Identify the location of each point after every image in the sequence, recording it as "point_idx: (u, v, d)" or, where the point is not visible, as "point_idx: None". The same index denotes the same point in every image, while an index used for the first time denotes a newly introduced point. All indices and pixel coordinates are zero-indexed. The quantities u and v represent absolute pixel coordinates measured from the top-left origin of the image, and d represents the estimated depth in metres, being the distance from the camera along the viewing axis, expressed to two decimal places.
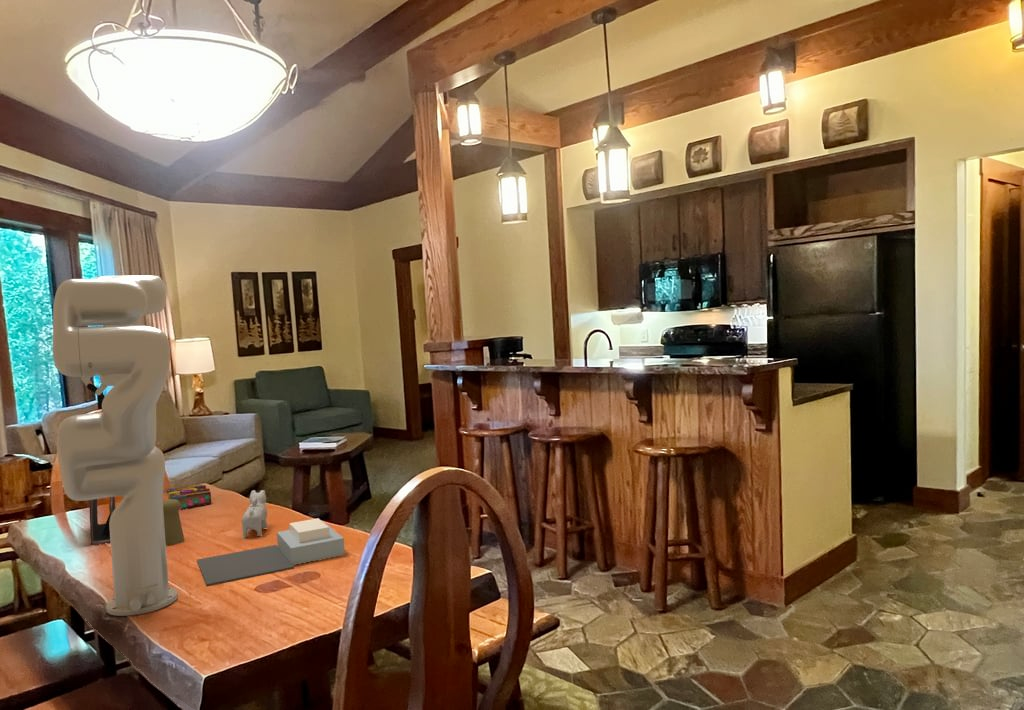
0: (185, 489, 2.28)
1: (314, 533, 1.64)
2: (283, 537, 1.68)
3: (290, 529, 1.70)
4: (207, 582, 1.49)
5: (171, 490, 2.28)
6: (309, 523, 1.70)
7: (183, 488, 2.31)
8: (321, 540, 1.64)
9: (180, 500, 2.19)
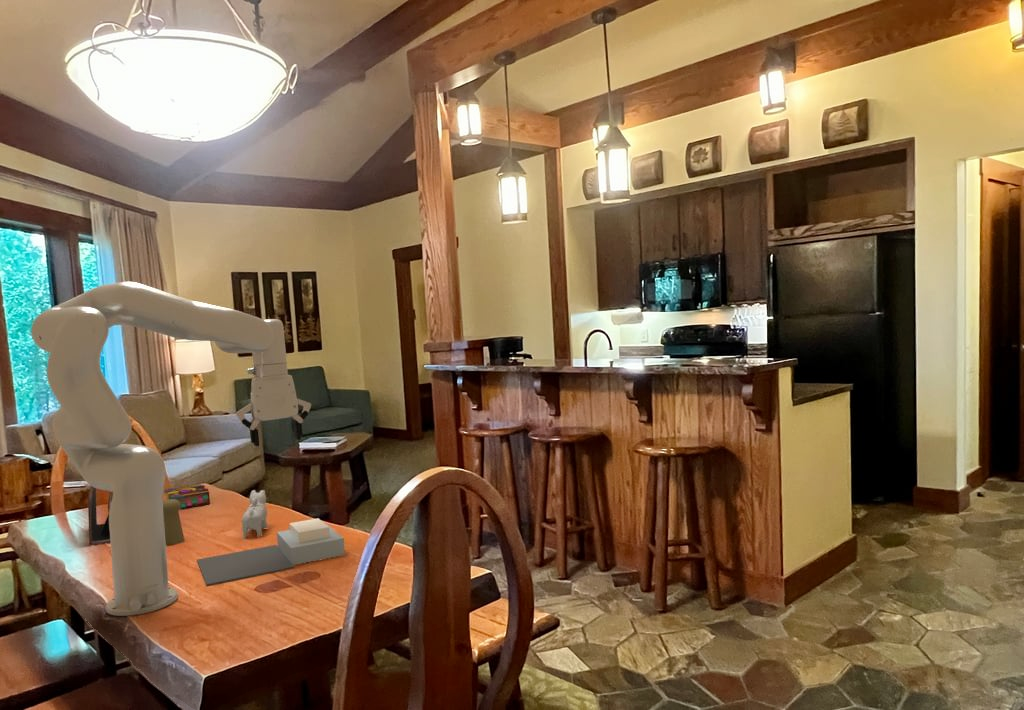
0: (184, 489, 2.28)
1: (314, 533, 1.64)
2: (283, 537, 1.68)
3: (290, 529, 1.70)
4: (207, 582, 1.49)
5: (170, 490, 2.28)
6: (309, 523, 1.70)
7: (182, 488, 2.31)
8: (321, 540, 1.64)
9: (179, 500, 2.19)
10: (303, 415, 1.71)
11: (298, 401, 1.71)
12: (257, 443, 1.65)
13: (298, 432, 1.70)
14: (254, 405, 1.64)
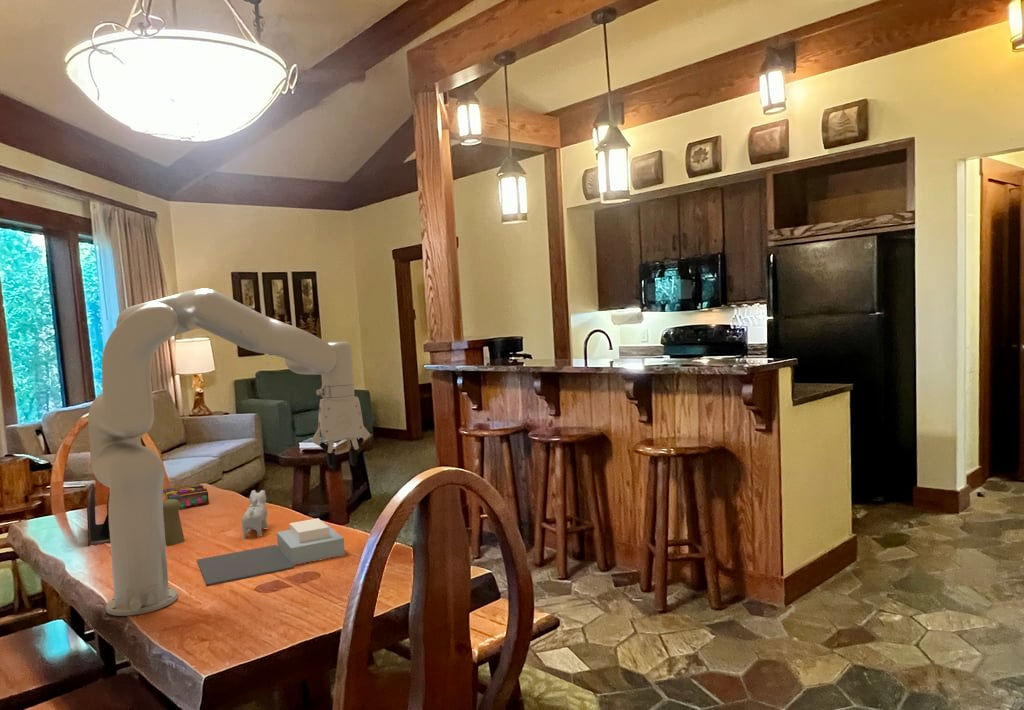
0: (182, 489, 2.28)
1: (314, 533, 1.64)
2: (283, 537, 1.68)
3: (290, 529, 1.70)
4: (207, 582, 1.49)
5: (168, 490, 2.28)
6: (309, 523, 1.70)
7: (180, 488, 2.31)
8: (321, 540, 1.64)
9: None
10: (359, 442, 1.74)
11: None
12: (334, 466, 1.70)
13: (354, 459, 1.72)
14: (322, 425, 1.68)
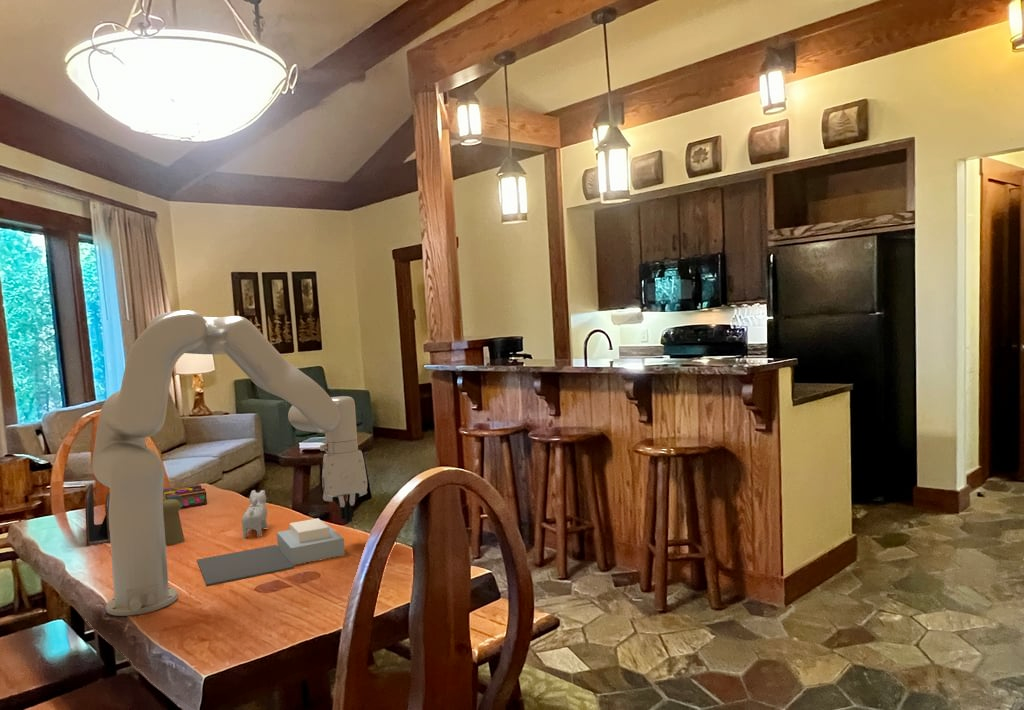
0: (180, 489, 2.28)
1: (314, 533, 1.64)
2: (283, 537, 1.68)
3: (290, 529, 1.70)
4: (207, 582, 1.49)
5: (166, 490, 2.28)
6: (309, 523, 1.70)
7: (178, 488, 2.31)
8: (321, 540, 1.64)
9: None
10: (354, 497, 1.73)
11: None
12: (346, 520, 1.71)
13: (349, 514, 1.72)
14: (326, 481, 1.68)
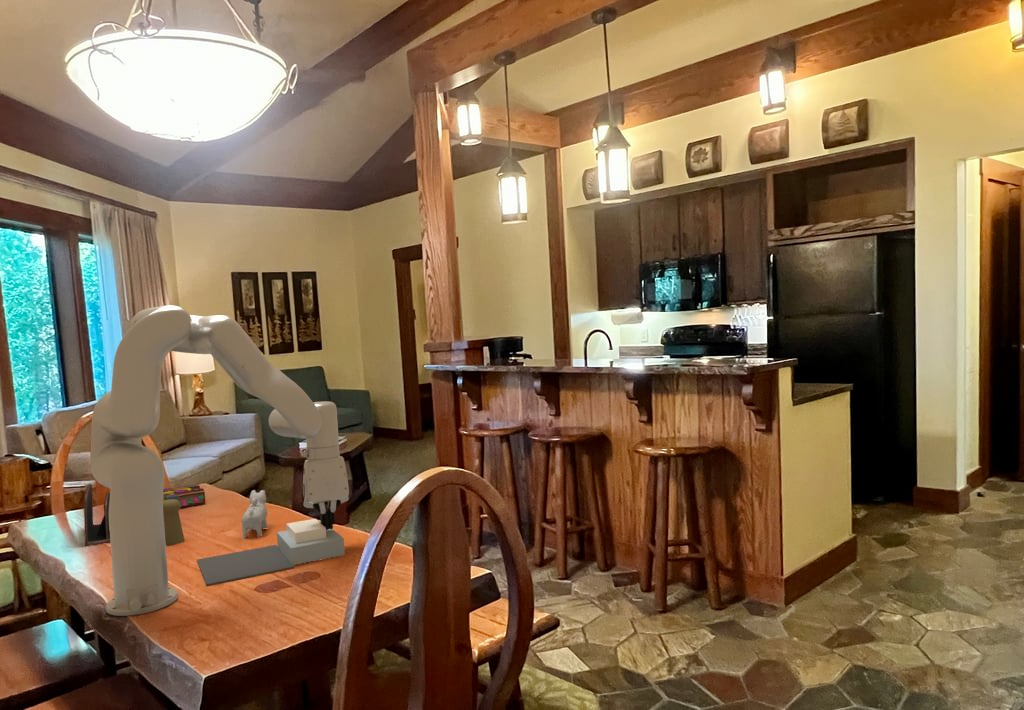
0: (179, 489, 2.28)
1: (310, 534, 1.64)
2: (283, 537, 1.68)
3: (287, 529, 1.70)
4: (207, 582, 1.49)
5: (165, 490, 2.28)
6: (306, 523, 1.70)
7: (177, 488, 2.31)
8: (321, 540, 1.64)
9: None
10: (336, 504, 1.71)
11: None
12: (327, 527, 1.69)
13: (330, 521, 1.70)
14: (306, 488, 1.66)
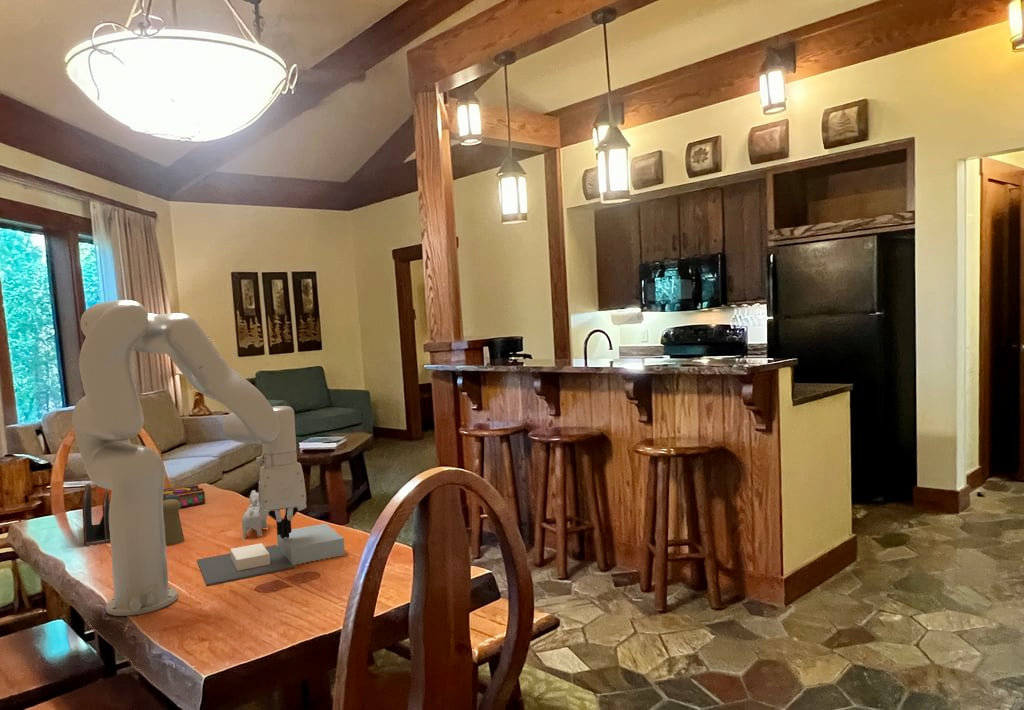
0: (178, 489, 2.28)
1: (253, 563, 1.58)
2: None
3: None
4: (207, 582, 1.49)
5: (163, 490, 2.28)
6: None
7: (175, 488, 2.31)
8: (321, 540, 1.64)
9: None
10: (293, 512, 1.66)
11: None
12: (283, 536, 1.64)
13: (287, 530, 1.64)
14: (261, 495, 1.61)
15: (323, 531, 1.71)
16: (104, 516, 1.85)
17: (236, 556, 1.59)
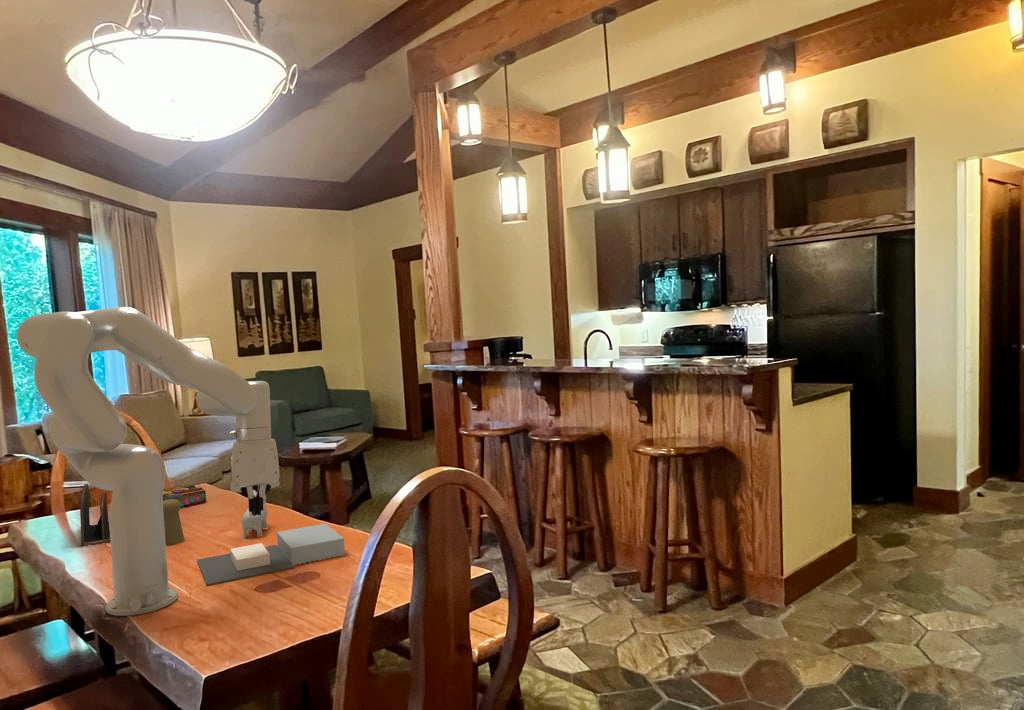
0: (175, 489, 2.28)
1: (253, 563, 1.58)
2: (283, 537, 1.68)
3: None
4: (207, 582, 1.49)
5: None
6: None
7: (171, 488, 2.31)
8: (321, 540, 1.64)
9: (176, 499, 2.20)
10: (265, 489, 1.63)
11: None
12: (254, 513, 1.61)
13: (258, 507, 1.61)
14: (233, 470, 1.58)
15: (323, 531, 1.71)
16: (102, 516, 1.85)
17: (236, 556, 1.59)
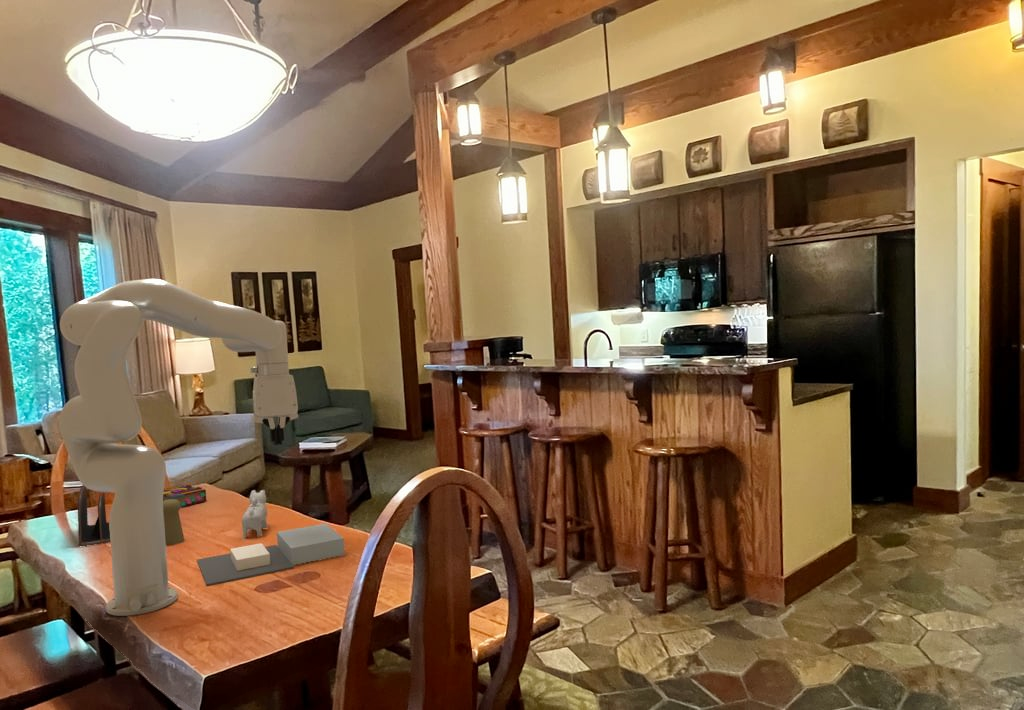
0: (173, 489, 2.28)
1: (253, 563, 1.58)
2: (283, 537, 1.68)
3: None
4: (207, 582, 1.49)
5: None
6: None
7: (167, 489, 2.31)
8: (321, 540, 1.64)
9: (178, 499, 2.21)
10: (285, 420, 1.76)
11: None
12: (276, 442, 1.74)
13: (279, 437, 1.74)
14: (255, 402, 1.71)
15: (323, 531, 1.71)
16: (99, 517, 1.84)
17: (236, 556, 1.59)
